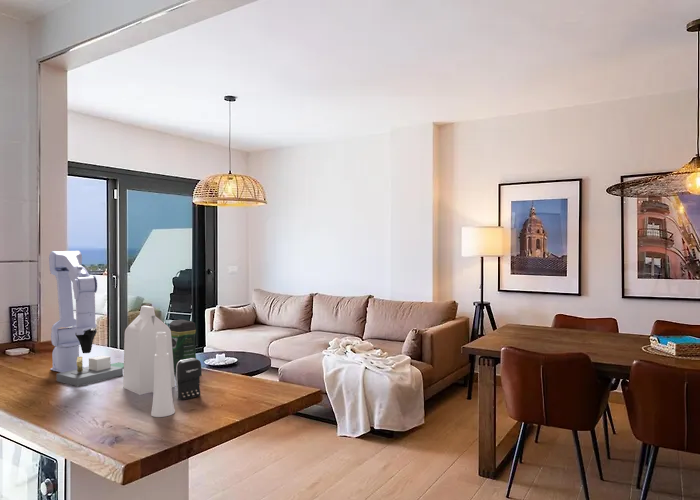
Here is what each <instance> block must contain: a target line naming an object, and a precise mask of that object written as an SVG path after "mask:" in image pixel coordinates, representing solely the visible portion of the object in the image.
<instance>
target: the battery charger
mask: <svg viewBox="0 0 700 500" xmlns="http://www.w3.org/2000/svg"><path fill="white" fill-rule="evenodd" d="M201 377H202V363H201V360H199V359H197V357H196V358H191V359H185V360H181V361H179V362H178V363H177V364H176V373H175V385H176V398H177V400H181V401H184V400H185V401H186V400H189V399H194V398H199V397H200V396H201V388H200V387H201V386H200V384H201V383H200V382H201V381H200V379H201Z"/></svg>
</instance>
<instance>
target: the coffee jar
mask: <svg viewBox="0 0 700 500" xmlns="http://www.w3.org/2000/svg"><path fill="white" fill-rule="evenodd" d="M168 327H169V328H170V330H171V338H172V352H173V365H174V374H176V364H177V363H178V362H179V361H181V360H185V359H191V358H196V359H197V354H196V351H197V350H196V348H197V347H196V332H197V329H196V322H193V321H191V320H186V319H173V320H171V322H170V323H169V326H168Z"/></svg>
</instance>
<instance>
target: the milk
mask: <svg viewBox="0 0 700 500" xmlns="http://www.w3.org/2000/svg"><path fill="white" fill-rule="evenodd" d="M169 327H170V326H168V325H167V324H166V323H164V321H162V320H161V319H160V318H159V317H157V316H156V312H155V307H154V306H151V305H150V306H149V305H141V306H140V311H139V314H138V315H137V317H135V318H134V319H133V320H132V321H131V323H129V324H128V326H127V327H126V328H125V330H124V340H123V341H124V342H123V343H124V345H123V363H124V368H123V375H122V376H123V378H122V379H123V380H122V381H123V383H122V384H123V385H122V388H123V389H125V390H128V391H129V392H133V393H135V394H137V395H138V396H139V395H140V396H141V395H146V394H150V393H153V392H154V358H155V354H156V336H157V333H158V332H166V334H165V335H166V336H167V353H168V354H169V362H170V376H171V388H175V387H176V377H175V372H174V365H173V352H172V338H171V330H170V328H169Z"/></svg>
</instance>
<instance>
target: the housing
mask: <svg viewBox="0 0 700 500" xmlns="http://www.w3.org/2000/svg"><path fill="white" fill-rule="evenodd" d="M120 376H124V368H120V367H115V366H111V368H107V369H103V370H98V371H95V370H91V369H89V366H84V368H83V372H77V369H76V370H71V371H67V372H62V373H61V372H58V373H56V382H59V383H63V384H66V385H71V386H75V387H80V386H85V385H88V384H89V385H90V384H93V383H97V382H101V381H104V380H109V379H113V378H116V377H120Z"/></svg>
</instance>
